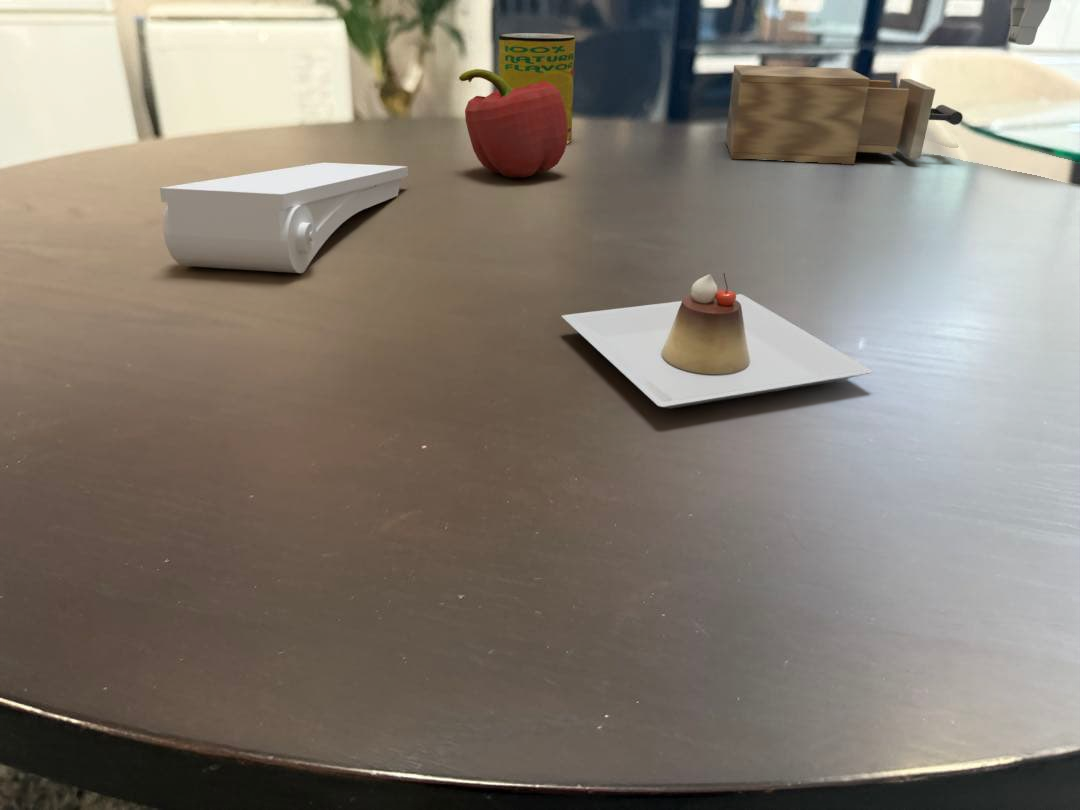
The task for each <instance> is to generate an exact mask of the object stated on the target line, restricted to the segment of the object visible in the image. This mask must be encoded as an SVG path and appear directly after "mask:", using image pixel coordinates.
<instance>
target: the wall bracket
mask: <svg viewBox="0 0 1080 810" xmlns="http://www.w3.org/2000/svg"><path fill="white" fill-rule="evenodd" d="M407 177H408V178H409V166H408V165H407V166H405V165H383V164H366V163H365V164H364V163H363V164H362V163H340V162H318V163H311V164H306V165H298V166H292V167H286V168H279V169H273V170H267V171H260V172H259V171H258V172H254V173H248V174H241V175H235V176H229V177H221V178H214V179H209V180H208V179H207V180H202V181H196V182H189V183H182V184H176V185H170V186H169V185H168V186H162V187H159V191H160V200H161V203H166V205H167V206H166V208H165V210H164V214H163V219H162V230H163V231H162V232H163V238H164V242H165V246H166V248H167V251H168V252H169V254H170V256H171V258H172V259H173V260H174V261H175V262H176V263H177V264H178V265H180V266H182V267H194V268H196V267H197V268H208V269H209V268H212V269H227V270H243V271H259V272H273V273H290V274H291V273H292V274H304V273H305V272H306V270H307V268H308V267H309V265H310V264H311V262H312V260H313V259H314V257H315V256H316V255H317V253H318V251H319V250H320V249H321V248H322V246H323V245H324V244H325V242H326V241H327V240H328V239H329V238H330V237H331V235H332V234H333V233H334V232H335V231H336V230H337V229H338V228H339V227H340V226H341V225H343V223H345V222H346V221H347V220H349V219H350V218H351V217H353V216H354V215H356V214H357V213H359V212H361V211H363V210H366V209H368V208H372V207H373V206H375V205H378V204H380V203H383V202H386V201H388V200H390V199H393V198H395V197H398V196H399V192H400V189H401V182H402V179H404V178H407Z"/></svg>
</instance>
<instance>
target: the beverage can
mask: <svg viewBox="0 0 1080 810" xmlns="http://www.w3.org/2000/svg"><path fill="white" fill-rule="evenodd" d="M575 47H576V36H575V35H571V34H563V33H562V34H560V33H544V32H543V33H541V32H540V33H539V32H538V33H537V32H515V33H513V32H511V33H501V34H500V33H499V34H498V76H500V77H501V78H502V79H503V80H504V81H505V82H506V83H507V84H508V85H509V86H510V87H511V88H512V89H514V88H516V87H525V86H528V85H531V84H536V83H539V82H543V81H546V82H548V83H550V84H552V85H554V86H555V87H556V88H557V89H558V91H559V92H560V94H561V96H562V99H563V102H564V106H565V110H566V116H567V122H568V136H567V141H570V140H571V141H572V137H573V135H572V133H573V132H572V131H573V107H574V105H573V104H574V103H573V102H574V79H575V78H574V77H575V76H574V75H575V53H576V52H575V49H576V48H575Z"/></svg>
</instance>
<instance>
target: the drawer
mask: <svg viewBox="0 0 1080 810" xmlns="http://www.w3.org/2000/svg"><path fill="white" fill-rule="evenodd" d="M935 94H936V89H935V88H933V87H931V86H929V85H926V84H924V83H921V82H919V81H917V80H914V79H913V78H912V79H911V78H900V79H899V85H898V87H895V88H894V87H892V81H891V80H881V79H880V80H877V79H870V81H869V86H868V92H867V97H866V103H865V108H864V113H863V119H862V124H861V130H860V135H859V140H858V146H857V151H856V153H875V154H876V153H878V154H897V152H898V151H900V152H901V153H902V154H904V155H905V156H906V157H907V158H910V159H921V157H922V154H923V153H922V152H923V148H924V143H925V139H926V134H927V129H928V126H929V121H944V122H947V123H949V124H950V125H952V126H957V125H959V124H960V123H961V122H962V121H963V119H964V118H963V114H962V112H961V111H958V110H956V109H954V108H952V107H949V106H947V105H945V104H939V105H937V106H936V107H933V103H934V98H935ZM907 103H908V105H907V110H906V115H905V120H904V125H903V129H902V134H901V139H900V143H898V142H899V137H900V133H901V128H902V123H903V118H904V113H905V109H906V104H907Z"/></svg>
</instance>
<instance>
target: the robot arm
mask: <svg viewBox="0 0 1080 810" xmlns="http://www.w3.org/2000/svg"><path fill="white" fill-rule="evenodd" d="M1051 4H1052V0H1012V1H1011V4H1010V8H1009V9H1010V10H1009V13H1010V16H1009V17H1010V18H1009V19H1010V23H1009V25H1010V27H1009V31H1008V35H1007V38H1006V39H1007V42H1008V43H1009V44H1013V45H1020V46H1030V45H1033V44H1034V42H1035V39H1036V36H1037V33H1038V29H1039V27H1040V26H1041V24H1042V22H1043V21H1044V19H1045V18H1046V15H1047V14H1048V12H1049V10H1050V7H1051Z"/></svg>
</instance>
